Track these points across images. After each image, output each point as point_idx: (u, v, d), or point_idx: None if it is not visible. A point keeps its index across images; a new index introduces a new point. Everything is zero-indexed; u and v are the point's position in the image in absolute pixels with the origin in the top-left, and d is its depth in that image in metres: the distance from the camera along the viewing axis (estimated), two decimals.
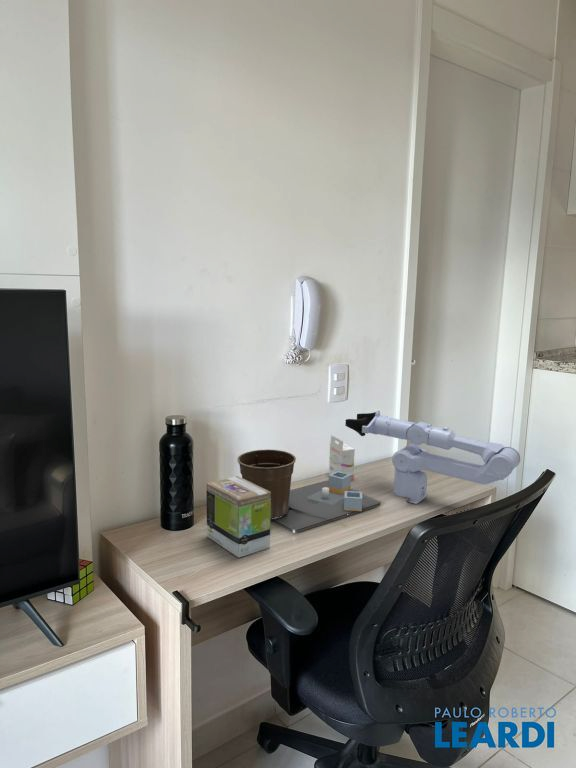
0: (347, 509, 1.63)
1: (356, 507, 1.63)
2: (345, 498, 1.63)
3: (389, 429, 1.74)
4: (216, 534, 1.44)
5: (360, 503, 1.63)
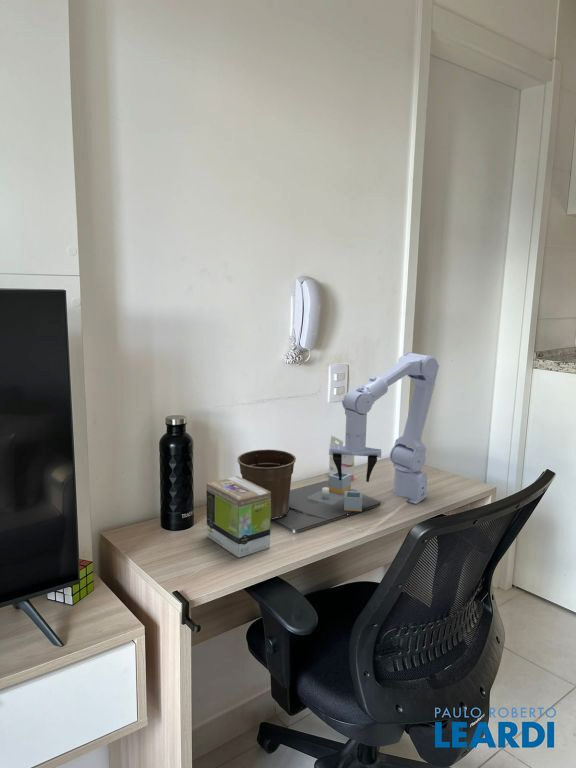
0: (347, 509, 1.63)
1: (356, 507, 1.63)
2: (345, 498, 1.63)
3: (362, 433, 1.59)
4: (216, 534, 1.44)
5: (360, 503, 1.63)
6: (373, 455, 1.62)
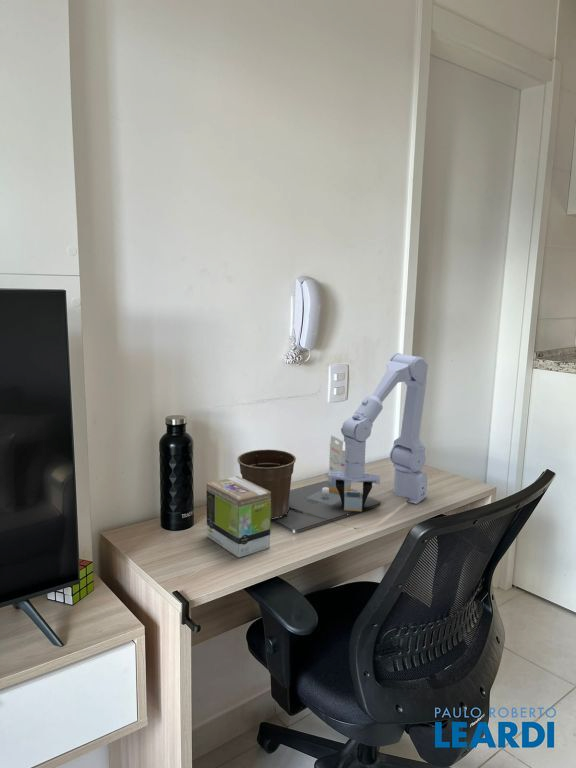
0: (347, 509, 1.63)
1: (356, 507, 1.63)
2: (345, 498, 1.63)
3: (361, 460, 1.61)
4: (216, 534, 1.44)
5: (360, 503, 1.63)
6: (372, 482, 1.63)
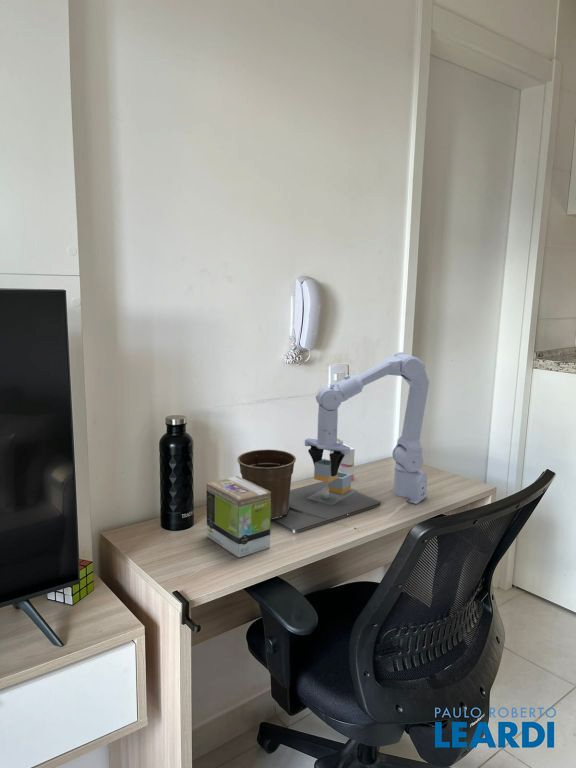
0: (316, 475, 1.70)
1: (324, 474, 1.68)
2: (315, 463, 1.69)
3: (329, 429, 1.65)
4: (216, 534, 1.44)
5: (327, 470, 1.67)
6: (341, 452, 1.66)
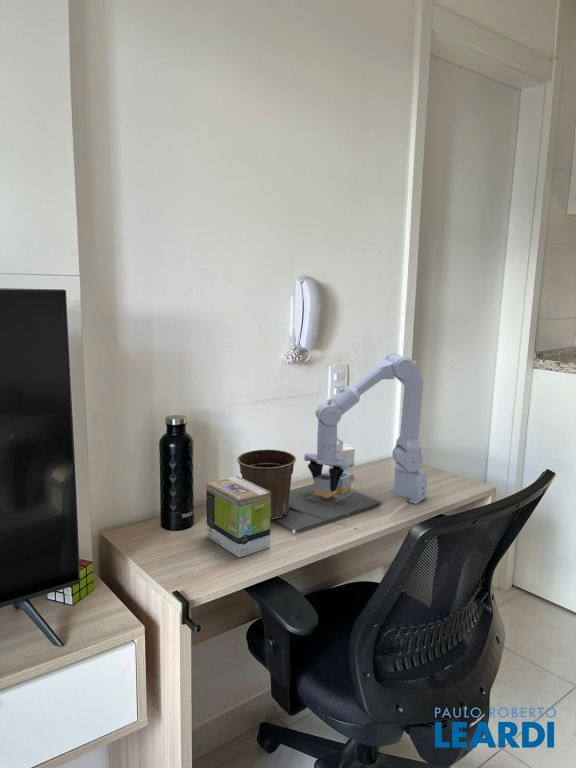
0: (316, 489, 1.71)
1: (323, 489, 1.69)
2: (315, 478, 1.70)
3: (329, 444, 1.66)
4: (216, 534, 1.44)
5: (327, 486, 1.68)
6: (340, 467, 1.67)
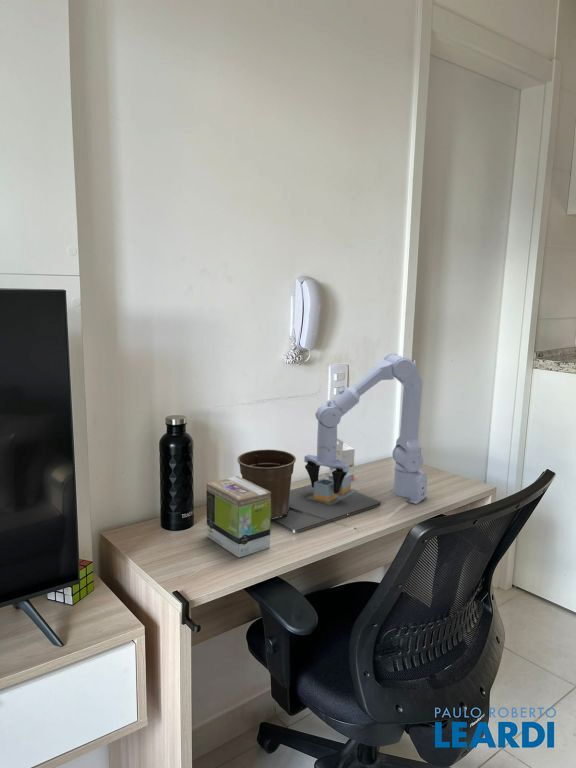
0: (316, 494, 1.71)
1: (323, 493, 1.69)
2: (314, 483, 1.71)
3: (329, 446, 1.66)
4: (216, 534, 1.44)
5: (326, 490, 1.68)
6: (340, 469, 1.67)
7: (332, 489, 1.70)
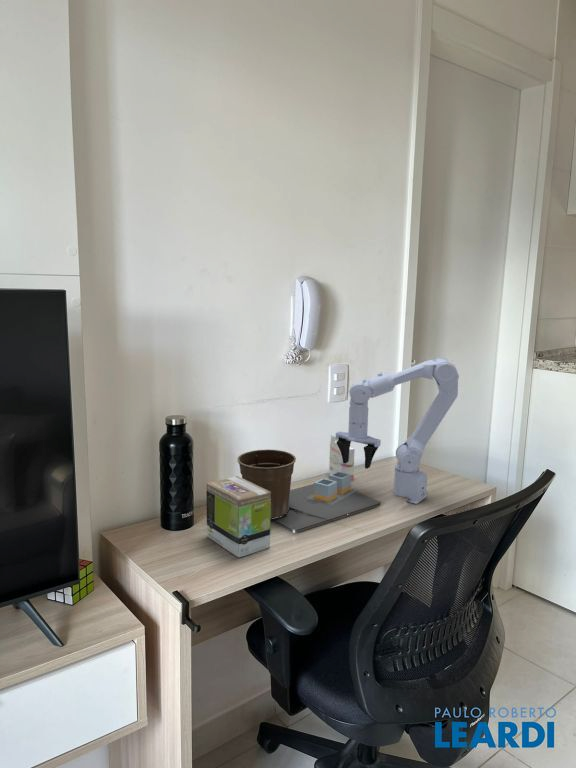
0: (316, 494, 1.71)
1: (323, 493, 1.69)
2: (314, 483, 1.71)
3: (358, 422, 1.72)
4: (216, 534, 1.44)
5: (326, 490, 1.68)
6: (371, 444, 1.72)
7: (332, 489, 1.70)
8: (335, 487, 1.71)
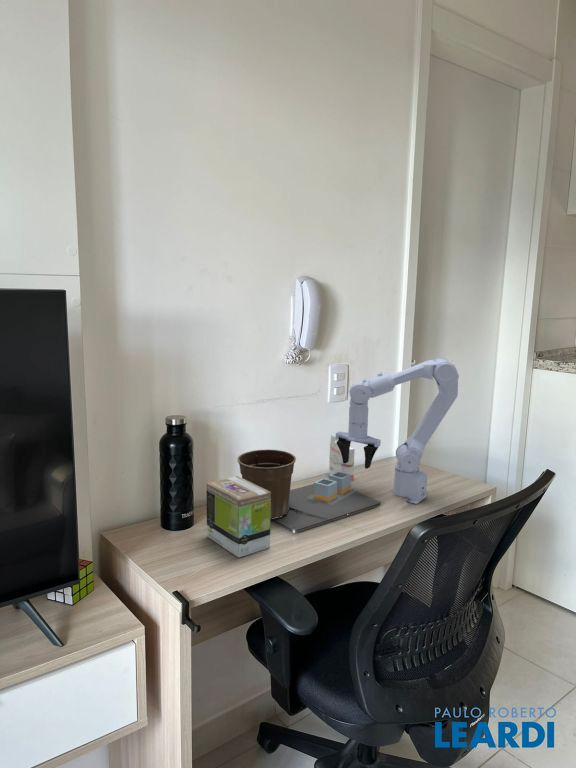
0: (316, 494, 1.71)
1: (323, 493, 1.69)
2: (314, 483, 1.71)
3: (358, 422, 1.72)
4: (216, 534, 1.44)
5: (326, 490, 1.68)
6: (371, 444, 1.72)
7: (332, 489, 1.70)
8: (335, 487, 1.71)
